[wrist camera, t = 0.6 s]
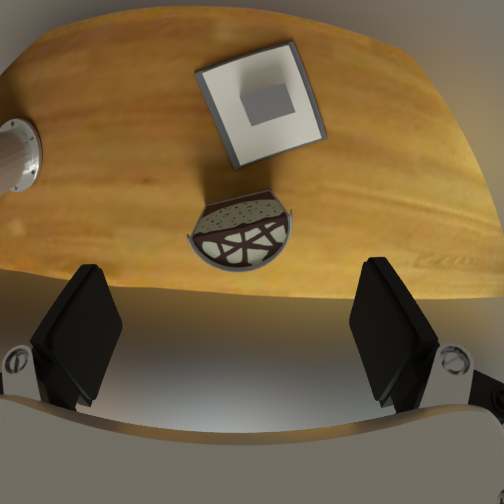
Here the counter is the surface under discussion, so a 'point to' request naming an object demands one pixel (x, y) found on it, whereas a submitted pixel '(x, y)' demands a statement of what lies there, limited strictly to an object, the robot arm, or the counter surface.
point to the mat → (219, 121)
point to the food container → (242, 232)
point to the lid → (263, 104)
